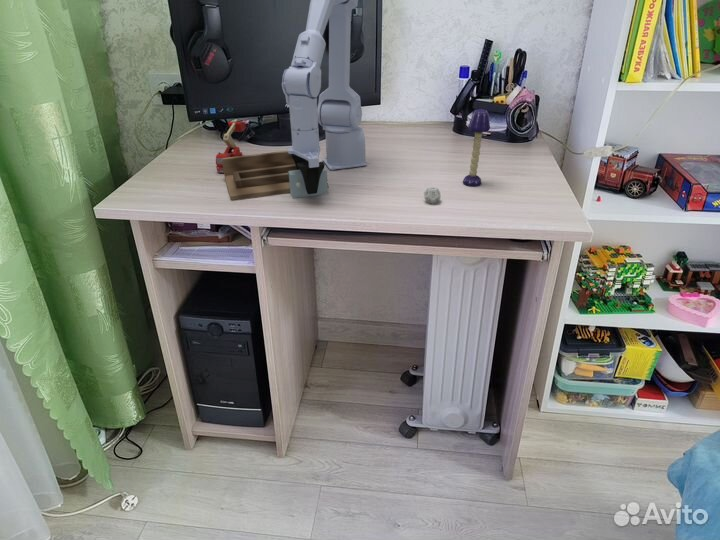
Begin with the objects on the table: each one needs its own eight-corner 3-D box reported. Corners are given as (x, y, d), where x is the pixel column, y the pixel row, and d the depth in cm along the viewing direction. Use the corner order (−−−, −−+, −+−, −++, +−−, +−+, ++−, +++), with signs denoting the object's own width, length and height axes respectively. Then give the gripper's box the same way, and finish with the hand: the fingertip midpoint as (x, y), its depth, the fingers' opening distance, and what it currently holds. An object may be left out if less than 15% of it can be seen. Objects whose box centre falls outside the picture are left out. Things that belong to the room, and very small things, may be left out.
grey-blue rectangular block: (325, 189, 124) (323, 166, 121) (328, 194, 121) (327, 171, 118) (290, 194, 122) (288, 171, 119) (293, 199, 119) (291, 175, 116)
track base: (314, 167, 136) (313, 147, 133) (328, 187, 124) (327, 166, 122) (224, 178, 130) (221, 158, 128) (231, 200, 119) (228, 179, 116)
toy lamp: (485, 181, 126) (493, 108, 118) (482, 188, 123) (490, 114, 114) (464, 178, 128) (470, 107, 119) (460, 186, 124) (467, 112, 115)
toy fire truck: (215, 173, 133) (209, 135, 128) (237, 155, 145) (232, 118, 140) (228, 174, 132) (222, 135, 127) (249, 156, 144) (244, 119, 139)
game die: (443, 203, 116) (444, 190, 115) (427, 206, 115) (428, 193, 113) (435, 197, 119) (436, 184, 117) (420, 199, 118) (421, 187, 116)
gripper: (279, 119, 119) (284, 178, 126) (292, 139, 107) (297, 202, 114) (310, 116, 121) (314, 174, 128) (327, 135, 109) (330, 198, 116)
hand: (308, 187), depth 121 cm, fingers open, 6 cm apart
